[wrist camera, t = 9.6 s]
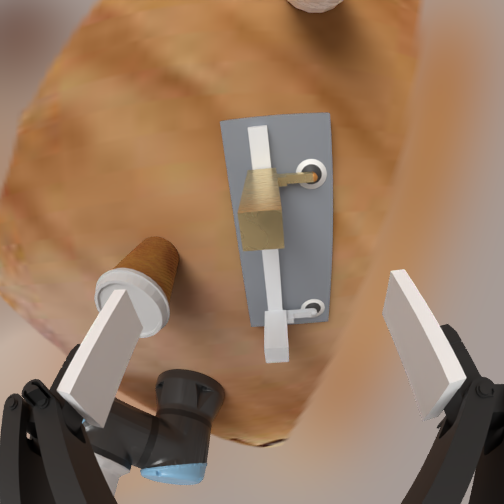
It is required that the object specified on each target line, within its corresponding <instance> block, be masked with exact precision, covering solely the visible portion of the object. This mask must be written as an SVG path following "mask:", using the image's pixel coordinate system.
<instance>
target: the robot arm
mask: <svg viewBox="0 0 504 504" xmlns="http://www.w3.org/2000/svg"><path fill="white" fill-rule="evenodd" d="M382 315H383V317H384V319H385V322H386V324H387V326H388V329H389V331H390V333H391V336H392V338H393V341H394V343H395V346H396V348H397V350H398V353H399V356H400V358H401V361H402V364H403V366H404V369H405V372H406V374H407V377H408V380H409V382H410V385H411V388H412V391H413V394H414V397H415V400H416V402H417V406H418V409H419V412H420V415H421V418H422V421H425V420H429V419H432V418H435V417H438V416H439V415H440V413H441V412H442V411H443V410H444V411H445V414H446V416H445V417H444V419H443V420H442V421H441V422H440V423H439V425H438V426H437V428H439V427H440V426H441V427H440V430H439V432H438V434H437V437H436V439H435V441H434V443H433V446H432V448H431V450H430V452H429V454H428V456H427V458H426V460H425V462H424V464H423V466H422V468H421V470H420V472H419V474H418V476H417V477H416V479H415V481H414V483H413V485H412V486H411V488H410V490H409V491H408V493H407V495H406V496H405V498H404V499H403V501H402V503H401V504H460V503H461V502H462V499H463V497H464V495H465V493H466V491H467V488H468V486H469V484H470V481H471V479H472V477H473V474H474V472H475V476H474V481H473V486H472V491H471V495H470V500H469V504H504V384H494V383H493V382H492V381H491V380H490V379H488V378H486V377H481V375H480V374H479V372H478V370H477V368H476V366H475V364H474V362H473V361H472V359H471V357H470V355H469V353H468V351H467V349H465V346H464V344H463V342H461V339H460V337H459V335H458V334H457V332H456V331H455V330H454V329H453V328H452V327H451V326H450V325H448V324H446V325H442V326H439V324H438V322H437V321H436V319H435V317H434V315H433V314H432V312H431V310H430V309H429V307H428V305H427V304H426V302H425V300H424V299H423V297H422V296H421V294H420V292H419V291H418V289H417V288H416V286H415V285H414V283H413V282H412V280H411V278H410V277H409V275H408V274H407V273H406V271H405V269H403V270H394V271H391V272H390V278H389V284H388V289H387V294H386V298H385V303H384V308H383V312H382ZM142 330H143V326H142V324H141V322H140V320H139V318H138V315H137V313H136V311H135V309H134V306H133V304H132V302H131V299H130V297H129V295H128V292H127V290H126V289H118V290H114V291H113V292H112V294H111V296H110V297H109V299H108V300H107V302H106V303H105V305H104V307H103V308H102V310H101V311H100V313H99V315H98V316H97V318H96V320H95V321H94V323H93V325H92V326H91V328H90V330H89V331H88V333H87V335H86V336H85V338H84V340H83V342H82V343H81V344H77V345H76V346H75V347H74V348H73V349H72V350H71V351H70V353H69V355H68V356H67V358H66V361H65V362H64V364H63V367H62V368H61V369H60V371H59V373H58V375H57V377H56V378H55V380H54V382H53V384H52V386H51V388H50V390H49V389H48V388H47V387H46V386H45V385H44V384H43V383H42V382H41V381H40V380H38V379H34V380H31V381H29V382H28V383H27V384H26V385H25V386H24V388H23V390H22V397H23V398H24V399H25V400H24V399H23V398H22V397H21V396H20V395H19V394H12V395H10V396H9V397H8V398H7V400H6V402H5V405H4V410H3V418H2V427H1V438H0V504H117V502H116V500H115V498H114V494H115V491H116V487H117V483H118V480H119V477H121V476H122V475H125V474H127V473H129V472H130V469H131V465H133V466H136V467H138V468H141V471H140V472H141V475H142V476H143V477H144V478H147V479H150V480H153V481H157V482H163V483H169V484H179V485H191V484H197V483H200V482H201V481H202V480H203V477H204V473H205V469H206V466H207V455H208V448H209V441H210V433H211V426H212V422H213V420H214V419H215V417H216V415H217V413H218V411H219V410H220V408H221V406H222V404H223V400H224V390H223V388H222V387H221V385H220V384H219V383H218V382H216V381H215V380H213V379H212V378H210V377H208V376H206V375H203V374H200V373H197V372H194V371H189V370H169V371H165V372H163V373H162V374H160V375H159V377H158V380H157V383H156V388H155V389H156V402H157V413H156V416H153V415H151V414H149V413H146V412H144V411H142V410H140V409H137V408H135V407H133V406H131V405H129V404H127V403H125V402H123V401H121V400H119V399H117V398H115V395H116V393H117V390H118V388H119V385H120V382H121V380H122V377H123V375H124V372H125V370H126V367H127V365H128V363H129V360H130V358H131V355H132V353H133V351H134V348H135V346H136V344H137V341H138V339H139V337H140V334H141V332H142ZM27 433H29V434H30V439H28V438H27V437H26V434H27ZM475 469H476V470H475Z"/></svg>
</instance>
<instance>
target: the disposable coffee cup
mask: <svg viewBox="0 0 504 504" xmlns="http://www.w3.org/2000/svg"><path fill="white" fill-rule="evenodd" d="M178 263H179V256H178V252H177V250H176V249H175V247H174V246H173V245H172V244H171V243H170V242H169V241H167V240H165V239H163V238H160V237H150V238H147V239H145V240H144V241H143V242H142V243H140V244H139V245H138V246H137V247H136V248H135V249H134V250H133V251H132V252H130V253H129V254H128V255H127V256H126V257H125V258H124V259H123V260H122V261H121V262H120V263H119V264H118V265H117V266H116V267H115V268H113V269H112V270H110V271H107V272H106V273H104V274H103V275H102V276H101V277H100V278H99V280H98V281H97V284H96V293H95V303H96V307H97V310H98V311H99V313H100V311H101V310H102V308H103V307H104V305H105V303H106V302H107V300H108V299H109V297H110V296H111V294H112V292H113V291H114V290H118V289H126V290H127V292H128V295H129V297H130V299H131V302H132V304H133V306H134V309H135V311H136V313H137V315H138V318H139V320H140V322H141V324H142V326H143V330H142V332H141V334H140V337H139V338H146V337H150V336H153V335H155V334H156V333H157V332H158V331H159V330H161V329H162V328H163V327H164V326H165V325H166V324H167V322H168V320H169V316H170V308H169V301H170V297H171V293H172V288H173V284H174V279H175V275H176V271H177V267H178Z"/></svg>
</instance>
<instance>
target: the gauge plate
mask: <svg viewBox="0 0 504 504" xmlns="http://www.w3.org/2000/svg"><path fill="white" fill-rule="evenodd" d="M220 125H221V132H222V139H223V146H224V153H225V160H226V167H227V174H228V181H229V187H230V194H231V201H232V207H233V214H234V221H235V227H236V234H237V240H238V247H239V253H240V259H241V266H242V272H243V278H244V285H245V291H246V297H247V303H248V310H249V316H250V322H251V327H257V326H265V329H264V351H265V359H266V363H276V362H289V347H288V331H287V325H289V324H303V323H314V322H325V321H328V316H329V303H330V288H331V269H332V240H333V170H332V143H331V124H330V113H299V114H282V115H269V116H258V117H248V118H239V119H231V120H224V121H220ZM267 168H276V172H277V174H284V173H298V172H312V171H313V172H315V173H316V174H317V176H318V179H317V181H315V182H308V183H293V184H287V186H282V187H279V193H280V200H281V207H282V219H283V233H284V248H282V249H269V250H256V251H243V248H242V241H241V234H240V228H239V221H238V214H237V213H238V209H239V204H240V200H241V196H242V192H243V188H244V184H245V179H246V175H247V171H248V170H256V169H267Z"/></svg>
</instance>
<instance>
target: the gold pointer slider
mask: <svg viewBox="0 0 504 504" xmlns="http://www.w3.org/2000/svg"><path fill="white" fill-rule="evenodd" d="M317 179H318V176H317V174H316V173H315V172H313V171H312V172H298V173H284V174H277V172H276V168H267V169H256V170H248V171H247V175H246V179H245V184H244V188H243V192H242V196H241V200H240V204H239V209H238V213H237V214H238V221H239V228H240V234H241V241H242V248H243V251H256V250H269V249H282V248H284V233H283V219H282V207H281V200H280V193H279V187H282V186H287V184H293V183H308V182H315V181H317Z"/></svg>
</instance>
